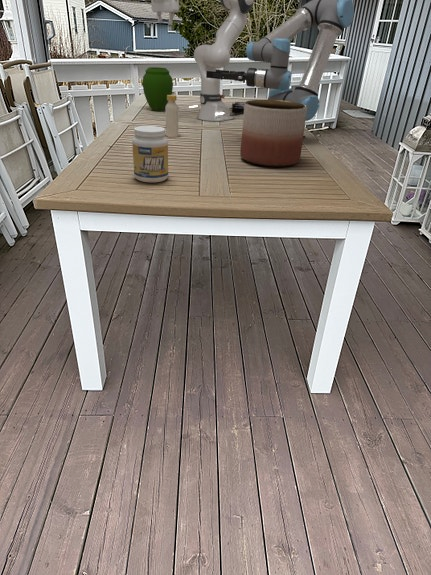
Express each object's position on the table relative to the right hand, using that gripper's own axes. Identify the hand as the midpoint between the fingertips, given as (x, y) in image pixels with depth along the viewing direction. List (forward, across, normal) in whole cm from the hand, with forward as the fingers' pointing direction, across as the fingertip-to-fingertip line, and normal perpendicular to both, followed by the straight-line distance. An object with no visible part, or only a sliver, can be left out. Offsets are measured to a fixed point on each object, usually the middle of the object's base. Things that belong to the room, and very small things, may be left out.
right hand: (211, 73), depth 188 cm
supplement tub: (-2, -69, -30) cm, 76 cm away
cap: (+19, -2, -11) cm, 22 cm away
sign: (+5, +98, -27) cm, 102 cm away
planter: (-36, -25, -29) cm, 52 cm away
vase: (+56, +64, -29) cm, 89 cm away
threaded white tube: (+19, -1, -30) cm, 35 cm away
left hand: (+34, +27, +19) cm, 47 cm away
